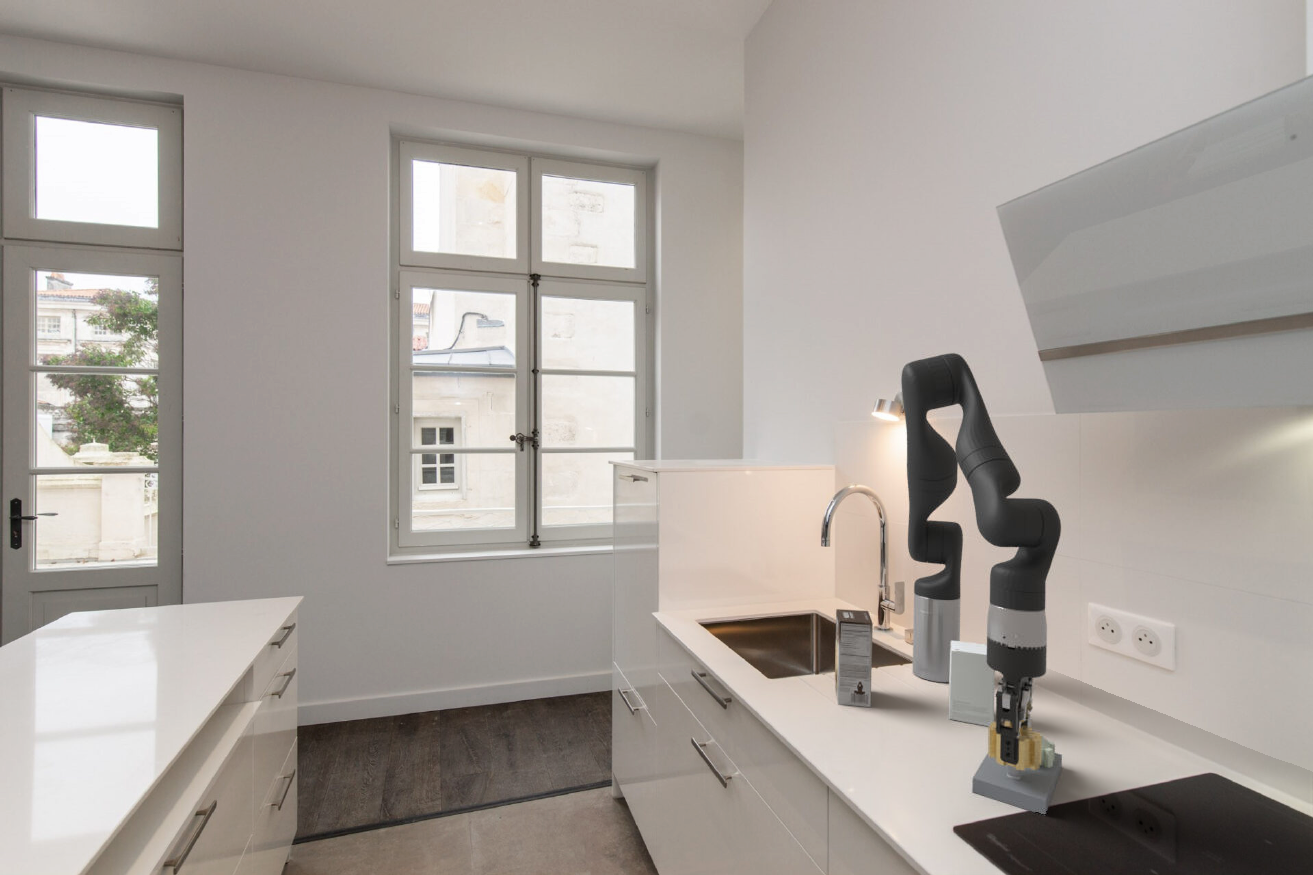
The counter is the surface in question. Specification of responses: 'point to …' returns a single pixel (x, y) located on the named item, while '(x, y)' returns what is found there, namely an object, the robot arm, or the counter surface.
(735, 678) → the counter surface
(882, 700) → the counter surface
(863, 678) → the coffee box
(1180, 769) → the counter surface
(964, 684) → the supplement box
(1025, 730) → the brass gear
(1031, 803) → the gear board
